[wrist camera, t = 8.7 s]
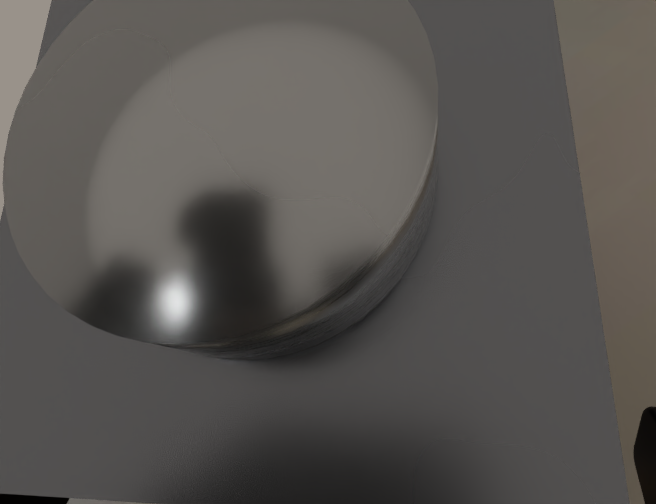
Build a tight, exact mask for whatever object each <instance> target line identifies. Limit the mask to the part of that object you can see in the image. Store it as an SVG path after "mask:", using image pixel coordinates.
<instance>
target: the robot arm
mask: <svg viewBox="0 0 656 504" xmlns="http://www.w3.org/2000/svg"><path fill="white" fill-rule="evenodd" d="M634 462H635V466H636V470H637V474H638V478H639V482H640V486H641V489H642V493H643V497H644V501H645V504H656V407H648V408H646V409H645V410H644V411H643V414H642V417H641V421H640V425H639V429H638V433H637V437H636V441H635V445H634ZM68 500H69V498H64V497H48V496H33V495H17V494H1V493H0V504H67V502H68Z"/></svg>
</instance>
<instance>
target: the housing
mask: <svg viewBox="0 0 656 504" xmlns="http://www.w3.org/2000/svg"><path fill="white" fill-rule="evenodd" d="M3 191H4V208H3V212H2V216H1V221H0V493H1V494H17V495H33V496H48V497H64V498H80V499H95V500H111V501H126V502H142V503H158V504H630V503H629V497H628V490H627V484H626V477H625V470H624V464H623V457H622V451H621V444H620V437H619V431H618V424H617V418H616V411H615V404H614V398H613V391H612V385H611V378H610V371H609V365H608V358H607V351H606V345H605V338H604V332H603V325H602V318H601V312H600V305H599V299H598V292H597V285H596V279H595V272H594V266H593V259H592V252H591V246H590V239H589V233H588V226H587V219H586V213H585V206H584V200H583V193H582V186H581V180H580V173H579V167H578V160H577V153H576V147H575V140H574V134H573V127H572V120H571V114H570V107H569V100H568V94H567V87H566V81H565V74H564V67H563V61H562V54H561V48H560V41H559V34H558V28H557V21H556V15H555V8H554V1H553V0H52V2H51V6H50V10H49V15H48V19H47V23H46V28H45V32H44V36H43V40H42V44H41V49H40V53H39V57H38V62H37V67H36V69H35V71H34V73H33V75H32V77H31V78H30V80H29V82H28V84H27V85H26V87H25V90H24V92H23V94H22V97H21V99H20V102H19V104H18V106H17V108H16V111H15V115H14V118H13V121H12V125H11V128H10V131H9V134H8V140H7V146H6V151H5V157H4V171H3Z"/></svg>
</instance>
